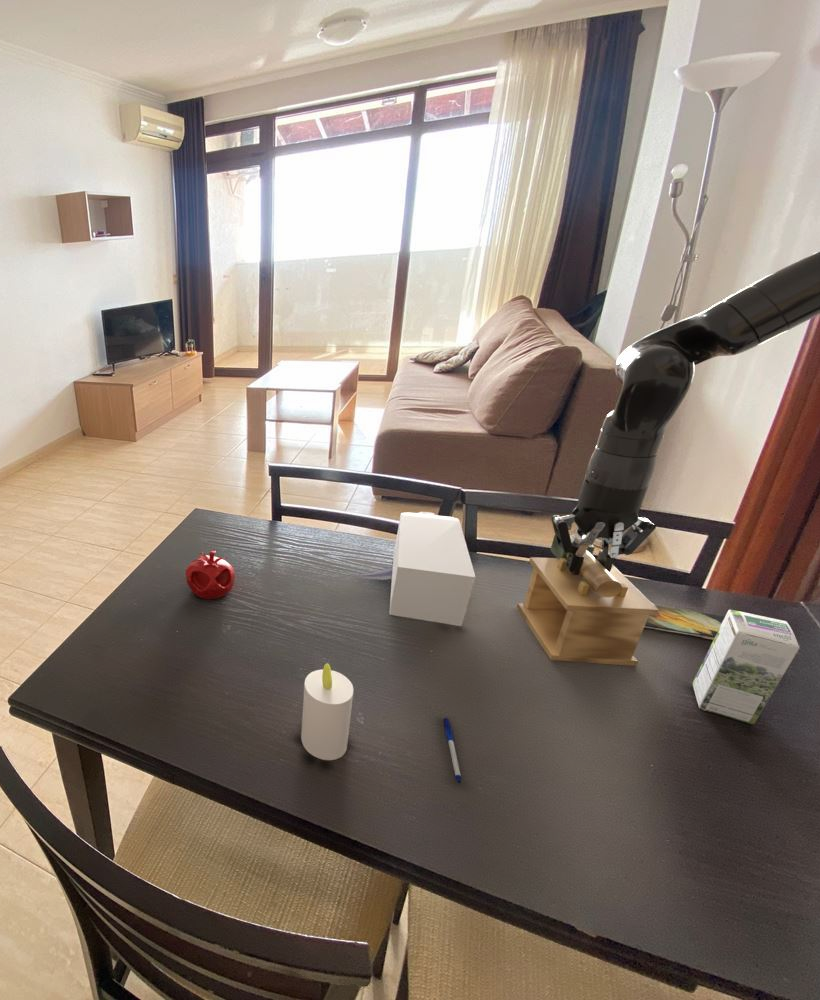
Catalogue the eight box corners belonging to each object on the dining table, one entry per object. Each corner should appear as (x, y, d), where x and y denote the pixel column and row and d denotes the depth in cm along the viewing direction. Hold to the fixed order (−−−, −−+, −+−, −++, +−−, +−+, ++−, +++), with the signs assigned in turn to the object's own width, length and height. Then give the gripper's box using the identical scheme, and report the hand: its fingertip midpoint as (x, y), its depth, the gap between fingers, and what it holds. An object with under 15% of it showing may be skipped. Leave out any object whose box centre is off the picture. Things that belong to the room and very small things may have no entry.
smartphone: (617, 599, 99) (727, 616, 92) (616, 602, 99) (725, 619, 93) (628, 622, 93) (746, 642, 87) (627, 625, 93) (744, 645, 87)
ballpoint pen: (441, 720, 79) (442, 715, 78) (448, 721, 79) (449, 716, 78) (456, 783, 70) (457, 778, 69) (464, 784, 70) (465, 779, 69)
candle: (356, 738, 77) (366, 657, 70) (332, 768, 73) (341, 685, 66) (316, 715, 81) (322, 637, 74) (292, 742, 77) (296, 662, 70)
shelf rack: (590, 611, 97) (611, 551, 92) (636, 666, 85) (663, 600, 79) (516, 607, 100) (532, 548, 94) (550, 659, 87) (571, 595, 82)
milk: (461, 626, 96) (448, 541, 116) (475, 577, 90) (459, 496, 110) (389, 614, 100) (388, 534, 121) (397, 566, 94) (396, 490, 114)
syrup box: (744, 698, 78) (787, 618, 72) (754, 727, 74) (802, 644, 67) (691, 684, 81) (728, 606, 75) (698, 710, 77) (738, 630, 70)
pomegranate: (186, 577, 116) (184, 540, 112) (232, 575, 116) (231, 538, 112) (187, 605, 108) (184, 566, 104) (237, 603, 107) (236, 564, 103)
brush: (623, 598, 83) (629, 581, 81) (590, 596, 84) (596, 579, 82) (578, 551, 95) (582, 535, 94) (549, 550, 96) (554, 534, 94)
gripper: (656, 468, 83) (622, 562, 90) (553, 467, 86) (528, 559, 93) (688, 488, 76) (649, 588, 84) (576, 486, 79) (547, 583, 87)
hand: (585, 572), depth 89 cm, fingers closed on brush, 3 cm apart
